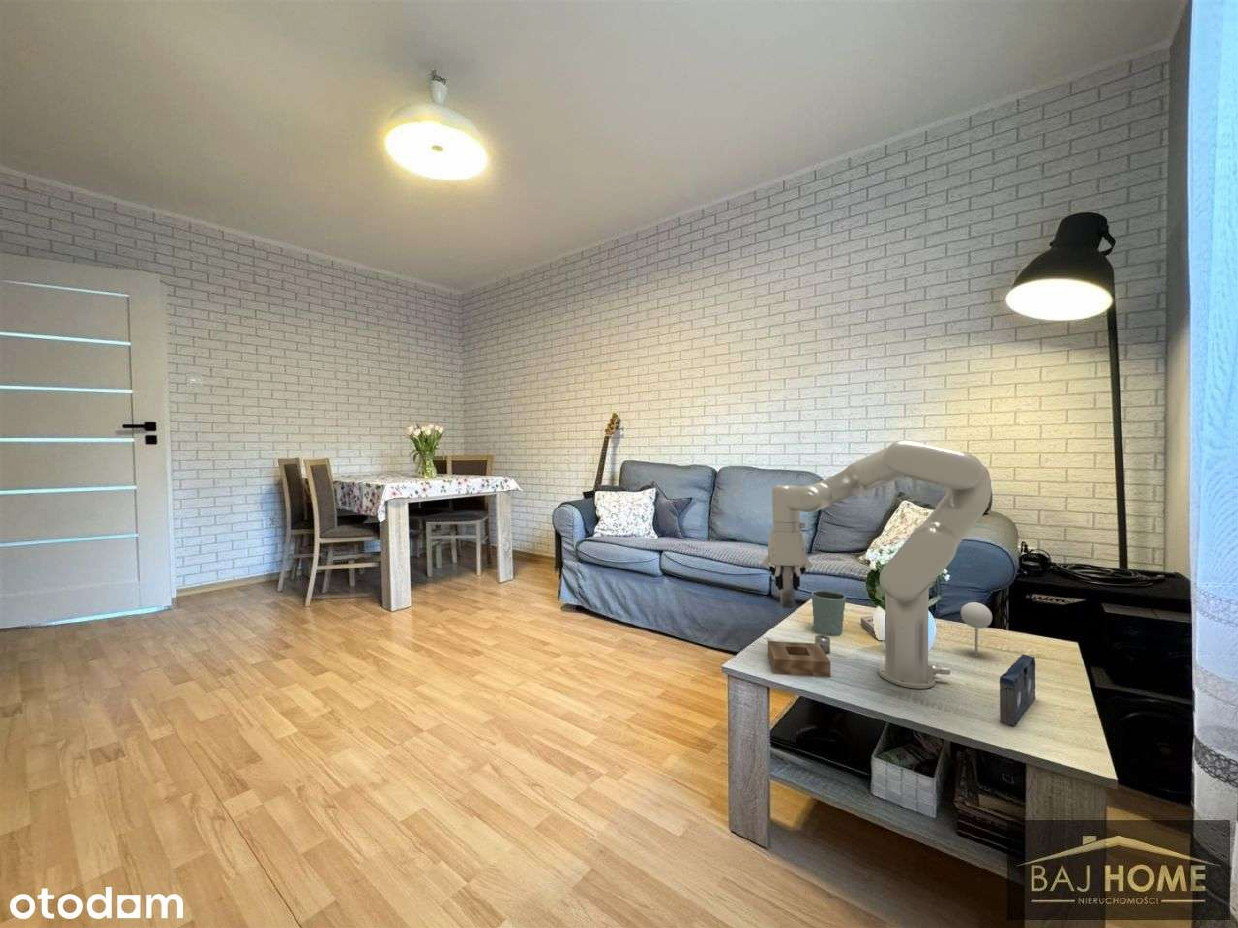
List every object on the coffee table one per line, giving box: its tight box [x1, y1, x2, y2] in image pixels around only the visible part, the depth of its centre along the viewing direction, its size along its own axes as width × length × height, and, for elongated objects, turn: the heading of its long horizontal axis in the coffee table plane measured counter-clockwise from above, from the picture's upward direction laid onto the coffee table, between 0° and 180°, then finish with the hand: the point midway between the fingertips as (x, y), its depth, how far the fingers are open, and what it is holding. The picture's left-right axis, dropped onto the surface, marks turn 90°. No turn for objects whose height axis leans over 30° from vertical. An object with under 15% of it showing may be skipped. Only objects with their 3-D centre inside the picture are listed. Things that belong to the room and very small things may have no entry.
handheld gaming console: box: [860, 615, 876, 639], centre depth 152 cm, size 9×4×15 cm
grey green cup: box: [811, 589, 847, 637], centre depth 154 cm, size 10×10×12 cm
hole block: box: [767, 640, 832, 678], centre depth 130 cm, size 14×12×4 cm
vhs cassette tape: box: [999, 654, 1036, 728], centre depth 106 cm, size 18×3×10 cm, turn 127°
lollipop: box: [960, 601, 993, 657], centre depth 134 cm, size 7×7×15 cm
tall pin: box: [779, 566, 796, 609], centre depth 140 cm, size 4×4×12 cm
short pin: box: [814, 634, 831, 655], centre depth 139 cm, size 4×4×4 cm
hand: (787, 588), depth 140 cm, fingers closed on tall pin, 4 cm apart
